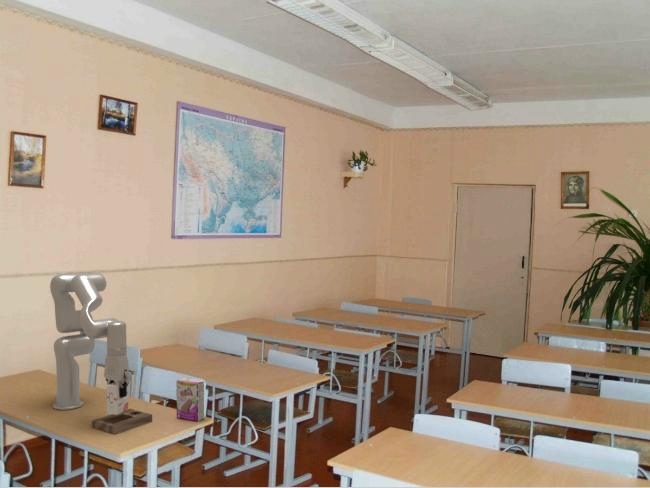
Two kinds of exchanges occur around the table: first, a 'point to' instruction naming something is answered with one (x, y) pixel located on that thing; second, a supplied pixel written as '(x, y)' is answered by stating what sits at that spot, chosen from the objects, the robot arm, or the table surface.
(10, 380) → the table surface
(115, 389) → the ink cartridge box
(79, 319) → the robot arm
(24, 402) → the table surface
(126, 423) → the socket holder
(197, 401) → the candy bar box
